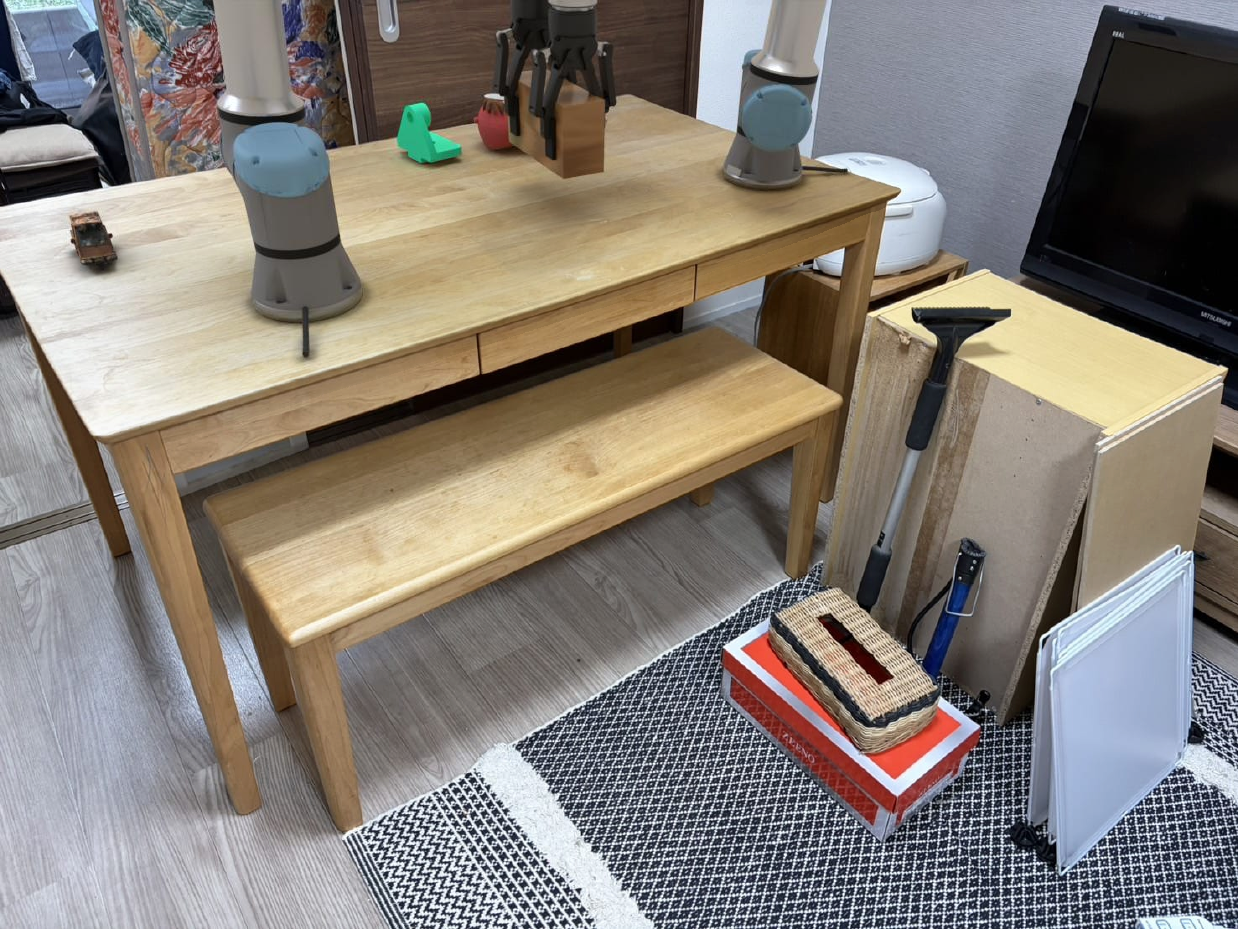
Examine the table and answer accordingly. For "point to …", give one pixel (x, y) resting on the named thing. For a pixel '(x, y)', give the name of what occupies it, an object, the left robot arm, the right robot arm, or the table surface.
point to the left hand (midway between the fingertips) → (573, 153)
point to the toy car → (91, 239)
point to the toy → (494, 122)
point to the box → (564, 129)
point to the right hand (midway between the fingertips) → (536, 130)
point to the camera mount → (423, 137)
